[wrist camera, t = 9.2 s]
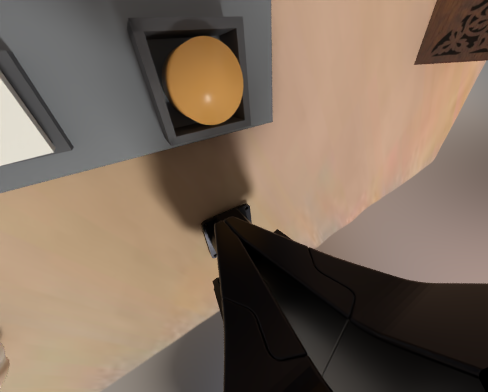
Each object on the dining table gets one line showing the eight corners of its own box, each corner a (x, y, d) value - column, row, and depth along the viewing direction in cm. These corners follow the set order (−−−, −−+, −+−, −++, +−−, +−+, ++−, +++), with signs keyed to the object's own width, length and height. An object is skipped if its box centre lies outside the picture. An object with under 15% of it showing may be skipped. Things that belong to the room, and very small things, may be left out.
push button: (227, 112, 15) (246, 117, 13) (173, 123, 13) (184, 132, 11) (218, 42, 13) (239, 33, 10) (150, 47, 11) (158, 38, 9)
